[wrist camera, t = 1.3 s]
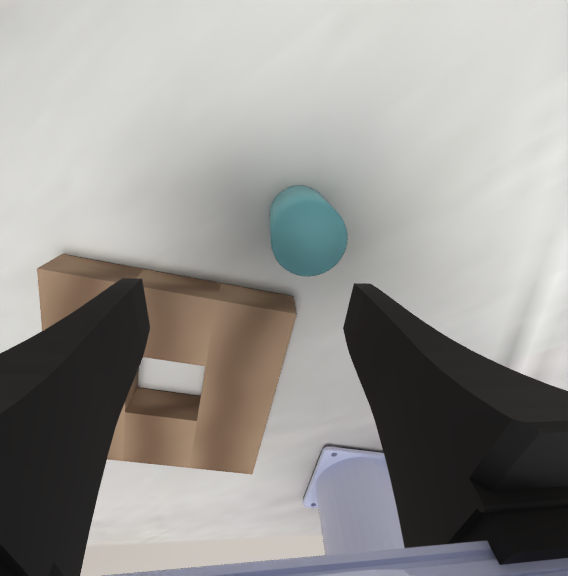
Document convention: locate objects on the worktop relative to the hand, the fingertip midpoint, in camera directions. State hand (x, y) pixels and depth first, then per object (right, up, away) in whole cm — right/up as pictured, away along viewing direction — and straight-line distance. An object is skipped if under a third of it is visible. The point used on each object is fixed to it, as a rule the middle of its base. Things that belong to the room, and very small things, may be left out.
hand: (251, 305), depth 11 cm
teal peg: (+2, +5, +9) cm, 11 cm away
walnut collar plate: (-7, -5, +13) cm, 16 cm away
